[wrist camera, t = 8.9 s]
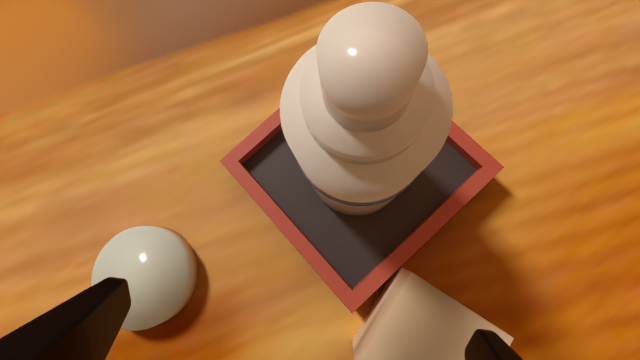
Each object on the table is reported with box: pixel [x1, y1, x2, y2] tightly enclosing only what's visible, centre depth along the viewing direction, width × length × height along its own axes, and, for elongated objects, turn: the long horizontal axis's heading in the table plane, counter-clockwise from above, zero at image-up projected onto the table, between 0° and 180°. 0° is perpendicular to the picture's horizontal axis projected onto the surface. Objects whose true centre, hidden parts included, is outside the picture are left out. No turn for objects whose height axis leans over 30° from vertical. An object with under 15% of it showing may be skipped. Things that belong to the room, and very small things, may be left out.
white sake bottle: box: [280, 2, 453, 216], centre depth 13 cm, size 6×6×12 cm
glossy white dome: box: [91, 226, 198, 331], centre depth 20 cm, size 6×6×2 cm
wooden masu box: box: [353, 267, 514, 360], centre depth 16 cm, size 5×5×4 cm
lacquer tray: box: [220, 108, 504, 313], centre depth 19 cm, size 12×12×2 cm
